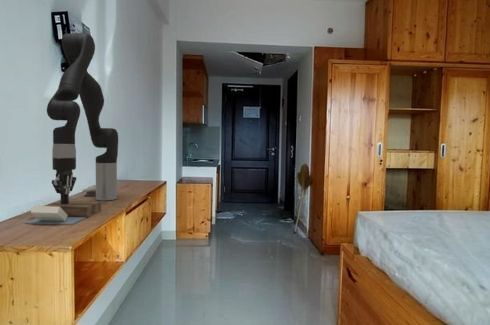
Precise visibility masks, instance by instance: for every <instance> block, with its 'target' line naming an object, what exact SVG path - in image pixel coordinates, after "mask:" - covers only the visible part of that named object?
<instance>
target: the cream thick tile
mask: <svg viewBox="0 0 490 325" xmlns="http://www.w3.org/2000/svg"><path fill="white" fill-rule="evenodd" d="M30 214H32V215H33V216H34V217H35V219H37V218H38V219H39V220H40V221H66V218H67V216H68V215H67V214H66V213H65V212H64V211H63V209H62V208H61V207H55V206H46V205H33V206H32V208H31V211H30Z"/></svg>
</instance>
